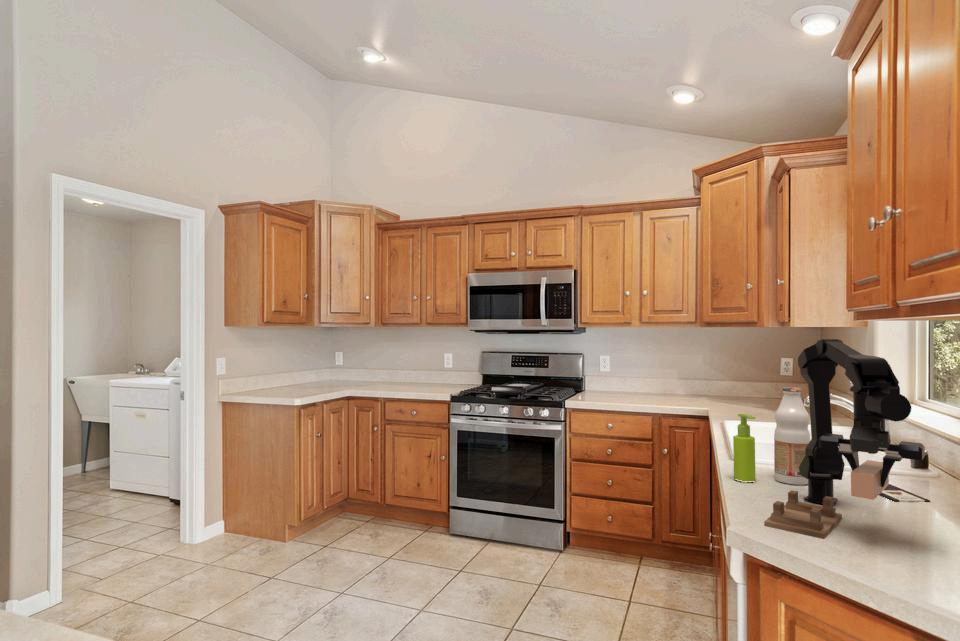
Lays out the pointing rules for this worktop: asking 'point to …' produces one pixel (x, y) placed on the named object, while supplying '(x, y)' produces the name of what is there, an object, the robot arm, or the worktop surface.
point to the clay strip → (867, 480)
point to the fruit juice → (790, 437)
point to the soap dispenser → (744, 451)
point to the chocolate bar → (900, 495)
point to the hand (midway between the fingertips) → (870, 484)
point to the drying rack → (804, 516)
